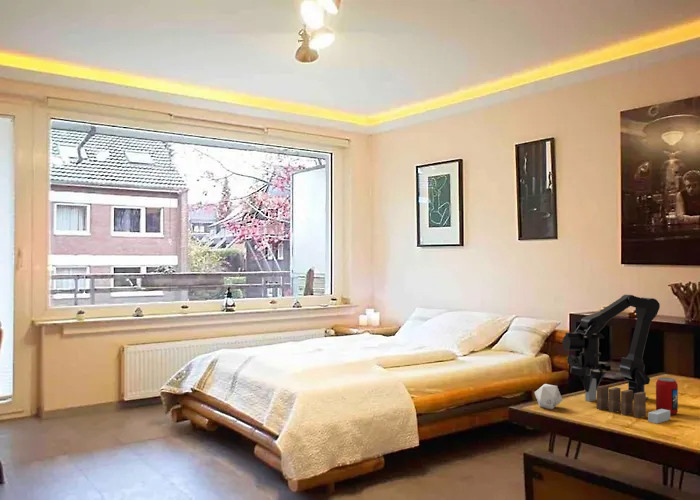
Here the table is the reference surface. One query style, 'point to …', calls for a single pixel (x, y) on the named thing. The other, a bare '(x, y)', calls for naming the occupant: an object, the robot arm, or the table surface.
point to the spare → (591, 391)
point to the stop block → (659, 416)
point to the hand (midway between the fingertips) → (590, 390)
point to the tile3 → (626, 402)
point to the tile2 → (614, 399)
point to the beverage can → (667, 395)
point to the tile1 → (602, 397)
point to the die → (548, 396)
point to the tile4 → (639, 404)
